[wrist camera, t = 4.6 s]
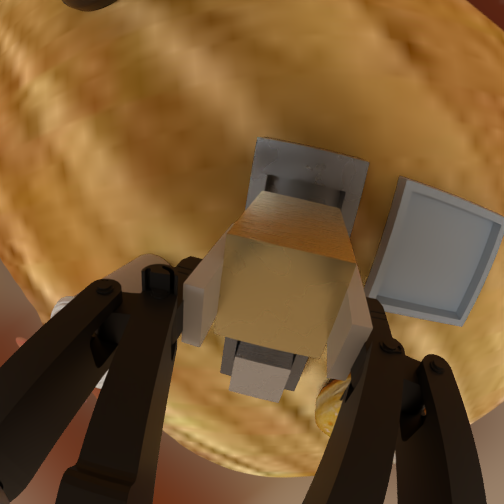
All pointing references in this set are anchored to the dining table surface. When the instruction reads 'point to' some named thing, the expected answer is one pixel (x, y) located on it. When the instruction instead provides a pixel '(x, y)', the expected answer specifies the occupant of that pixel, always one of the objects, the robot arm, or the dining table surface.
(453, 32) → the dining table surface
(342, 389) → the bread
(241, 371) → the grey rectangular block
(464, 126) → the dining table surface
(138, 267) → the coffee cup
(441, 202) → the parts tray
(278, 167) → the grey slotted holder
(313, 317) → the tan rectangular block
